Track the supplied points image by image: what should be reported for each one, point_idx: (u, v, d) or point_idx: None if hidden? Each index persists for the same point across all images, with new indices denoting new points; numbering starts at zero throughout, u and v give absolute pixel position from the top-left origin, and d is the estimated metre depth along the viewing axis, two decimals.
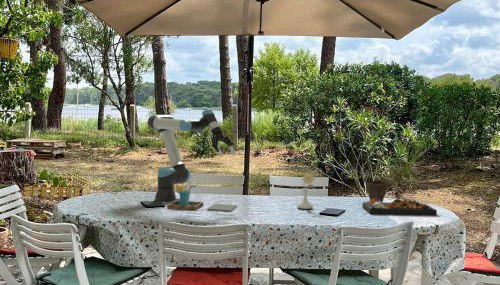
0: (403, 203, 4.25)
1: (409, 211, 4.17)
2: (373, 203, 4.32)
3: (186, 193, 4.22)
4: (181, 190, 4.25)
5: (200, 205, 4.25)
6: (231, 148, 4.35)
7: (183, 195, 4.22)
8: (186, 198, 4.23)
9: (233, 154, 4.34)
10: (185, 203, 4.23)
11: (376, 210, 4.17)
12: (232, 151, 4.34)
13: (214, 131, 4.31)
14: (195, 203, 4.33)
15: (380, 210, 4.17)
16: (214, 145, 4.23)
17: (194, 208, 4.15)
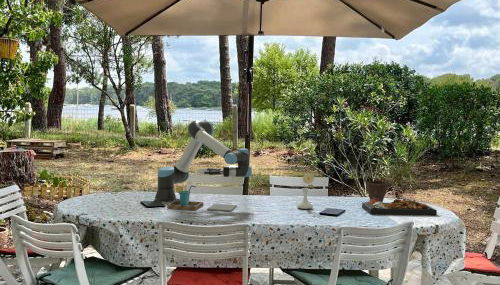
0: (403, 203, 4.25)
1: (409, 211, 4.17)
2: (373, 203, 4.32)
3: (186, 193, 4.22)
4: (181, 190, 4.25)
5: (200, 205, 4.25)
6: (204, 170, 4.33)
7: (183, 195, 4.22)
8: (186, 198, 4.23)
9: (198, 169, 4.33)
10: (185, 203, 4.23)
11: (376, 210, 4.16)
12: (201, 170, 4.33)
13: (225, 173, 4.26)
14: (195, 203, 4.33)
15: (380, 210, 4.16)
16: None
17: (194, 208, 4.15)
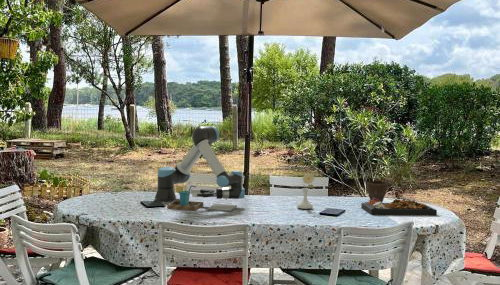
0: (403, 203, 4.25)
1: (410, 211, 4.17)
2: (373, 203, 4.31)
3: (186, 193, 4.22)
4: (181, 190, 4.25)
5: (200, 205, 4.25)
6: (197, 192, 4.33)
7: (183, 195, 4.22)
8: (186, 198, 4.23)
9: (191, 191, 4.32)
10: (185, 203, 4.23)
11: (377, 210, 4.15)
12: (194, 191, 4.33)
13: (219, 195, 4.26)
14: (195, 203, 4.33)
15: (381, 210, 4.15)
16: (203, 197, 4.18)
17: (194, 208, 4.15)
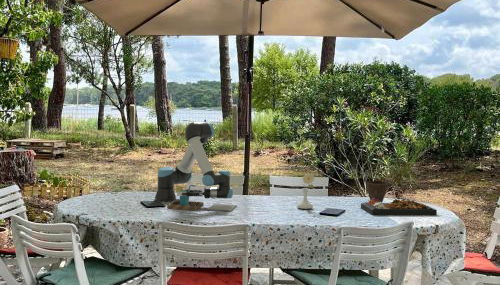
0: (403, 203, 4.25)
1: (410, 211, 4.17)
2: (373, 204, 4.30)
3: None
4: (181, 190, 4.26)
5: (200, 205, 4.25)
6: None
7: None
8: (186, 197, 4.23)
9: None
10: (185, 202, 4.23)
11: (378, 211, 4.14)
12: None
13: (206, 195, 4.25)
14: (195, 203, 4.33)
15: (382, 211, 4.14)
16: (188, 196, 4.19)
17: (194, 208, 4.15)
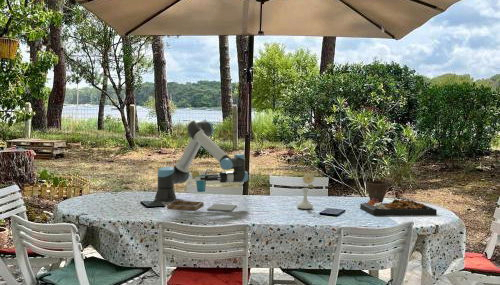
0: (403, 203, 4.25)
1: (411, 211, 4.17)
2: (372, 204, 4.28)
3: None
4: (197, 175, 4.21)
5: (200, 205, 4.25)
6: None
7: None
8: (203, 182, 4.19)
9: (192, 176, 4.24)
10: (203, 187, 4.19)
11: (379, 211, 4.13)
12: (195, 177, 4.24)
13: (223, 179, 4.24)
14: (195, 203, 4.33)
15: (383, 211, 4.13)
16: (207, 180, 4.16)
17: (194, 208, 4.15)
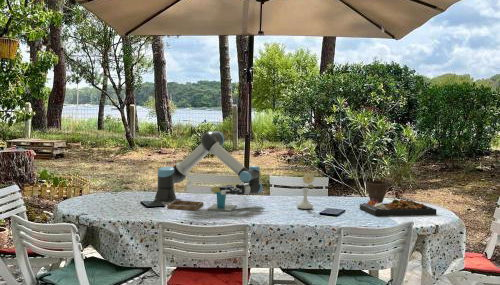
0: (403, 203, 4.24)
1: (411, 211, 4.17)
2: (372, 204, 4.27)
3: None
4: (218, 190, 4.22)
5: (200, 205, 4.25)
6: None
7: (222, 195, 4.20)
8: (224, 198, 4.22)
9: (211, 189, 4.27)
10: (223, 203, 4.22)
11: (381, 212, 4.11)
12: None
13: (241, 191, 4.29)
14: (195, 203, 4.33)
15: (384, 211, 4.12)
16: (233, 194, 4.17)
17: (194, 208, 4.15)
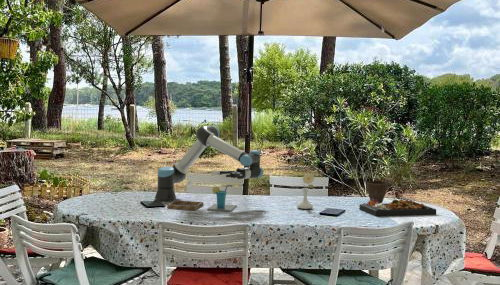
0: (403, 203, 4.24)
1: (412, 211, 4.16)
2: (373, 205, 4.26)
3: (225, 193, 4.21)
4: (218, 190, 4.22)
5: (200, 205, 4.25)
6: (217, 173, 4.29)
7: (222, 195, 4.20)
8: (224, 198, 4.22)
9: (212, 173, 4.26)
10: (223, 203, 4.22)
11: (381, 212, 4.10)
12: (214, 173, 4.27)
13: (242, 175, 4.28)
14: (195, 203, 4.33)
15: (385, 212, 4.11)
16: (233, 177, 4.17)
17: (194, 208, 4.15)
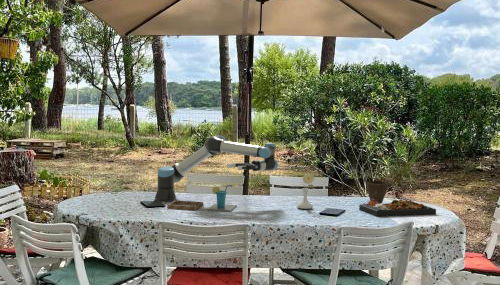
0: (403, 203, 4.24)
1: (412, 211, 4.16)
2: (373, 205, 4.25)
3: (225, 193, 4.21)
4: (218, 190, 4.22)
5: (200, 205, 4.25)
6: (233, 165, 4.35)
7: (222, 195, 4.20)
8: (224, 198, 4.22)
9: (228, 165, 4.33)
10: (223, 203, 4.22)
11: (382, 212, 4.10)
12: (230, 165, 4.34)
13: (257, 168, 4.35)
14: (195, 203, 4.33)
15: (386, 212, 4.10)
16: (249, 169, 4.23)
17: (194, 208, 4.15)
